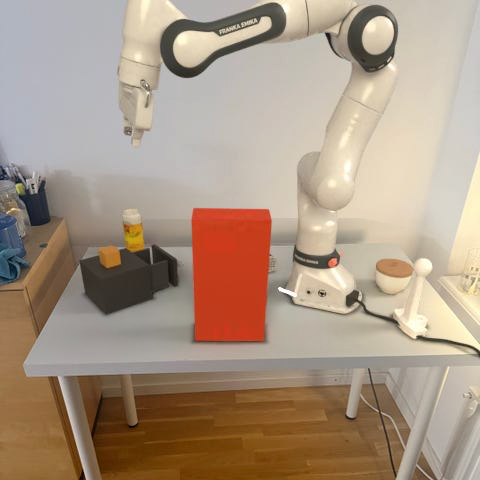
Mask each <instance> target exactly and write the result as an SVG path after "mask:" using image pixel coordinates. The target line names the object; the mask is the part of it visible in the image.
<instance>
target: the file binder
mask: <svg viewBox="0 0 480 480" xmlns="http://www.w3.org/2000/svg"><path fill="white" fill-rule="evenodd" d="M191 213H192V214H191V221H190V223H191V251H192V253H191V254H192V279H193V280H192V283H193V307H194V308H193V311H194V312H193V315H194V341H195V342H264V341H265V333H266V332H265V329H266V315H267V300H268V286H269V285H268V284H269V272H268V271H269V256H270V254H271V242H272V241H271V240H272V226H273V225H272V223H273V219H272V216H271V212H270V209H269V208H228V207H227V208H225V207H223V208H221V207H193V208H192V212H191Z"/></svg>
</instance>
